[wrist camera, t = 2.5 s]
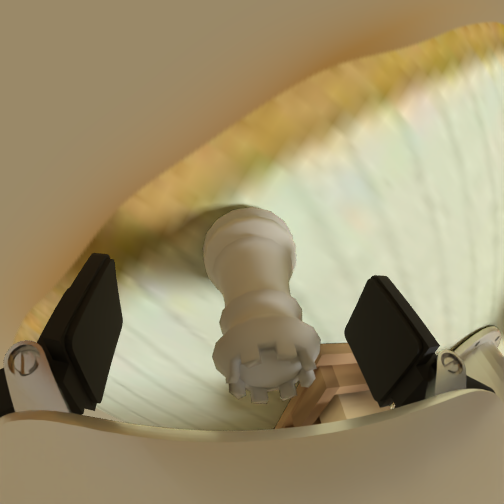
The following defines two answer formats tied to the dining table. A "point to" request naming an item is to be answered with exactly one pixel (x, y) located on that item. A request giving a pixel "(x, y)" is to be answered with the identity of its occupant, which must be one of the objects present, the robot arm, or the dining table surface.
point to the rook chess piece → (258, 306)
